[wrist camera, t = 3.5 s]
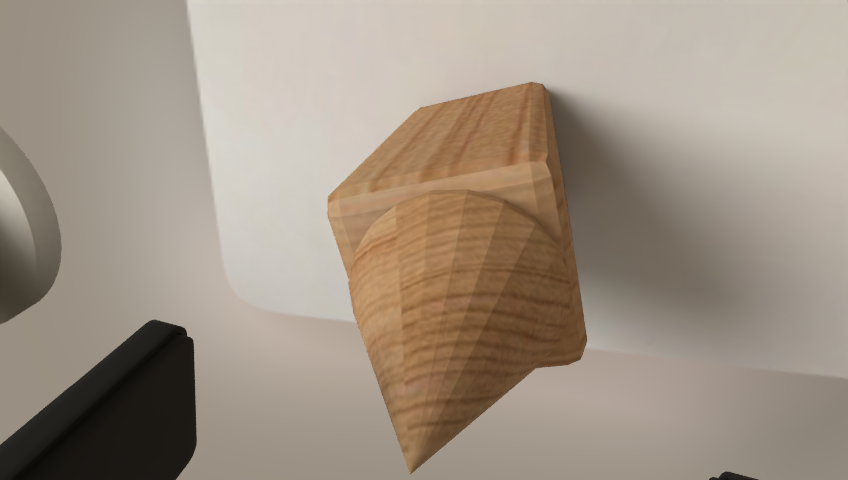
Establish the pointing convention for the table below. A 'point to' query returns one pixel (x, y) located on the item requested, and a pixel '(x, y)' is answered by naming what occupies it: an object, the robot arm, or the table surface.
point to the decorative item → (460, 260)
